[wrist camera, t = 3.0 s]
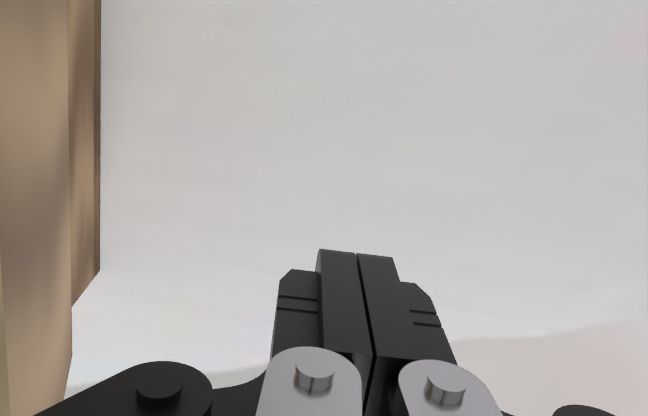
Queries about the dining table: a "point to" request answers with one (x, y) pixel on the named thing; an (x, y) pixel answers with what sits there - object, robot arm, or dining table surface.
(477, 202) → the dining table surface
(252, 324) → the dining table surface
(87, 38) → the box
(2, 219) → the lid
